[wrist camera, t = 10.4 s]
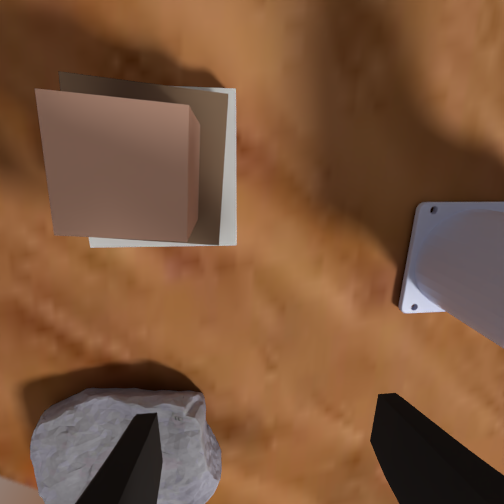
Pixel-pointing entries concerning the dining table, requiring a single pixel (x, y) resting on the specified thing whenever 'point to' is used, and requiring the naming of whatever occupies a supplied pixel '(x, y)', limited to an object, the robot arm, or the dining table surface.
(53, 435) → the stone block
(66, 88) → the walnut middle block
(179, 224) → the terracotta cube
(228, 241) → the grey base block
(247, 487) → the dining table surface
